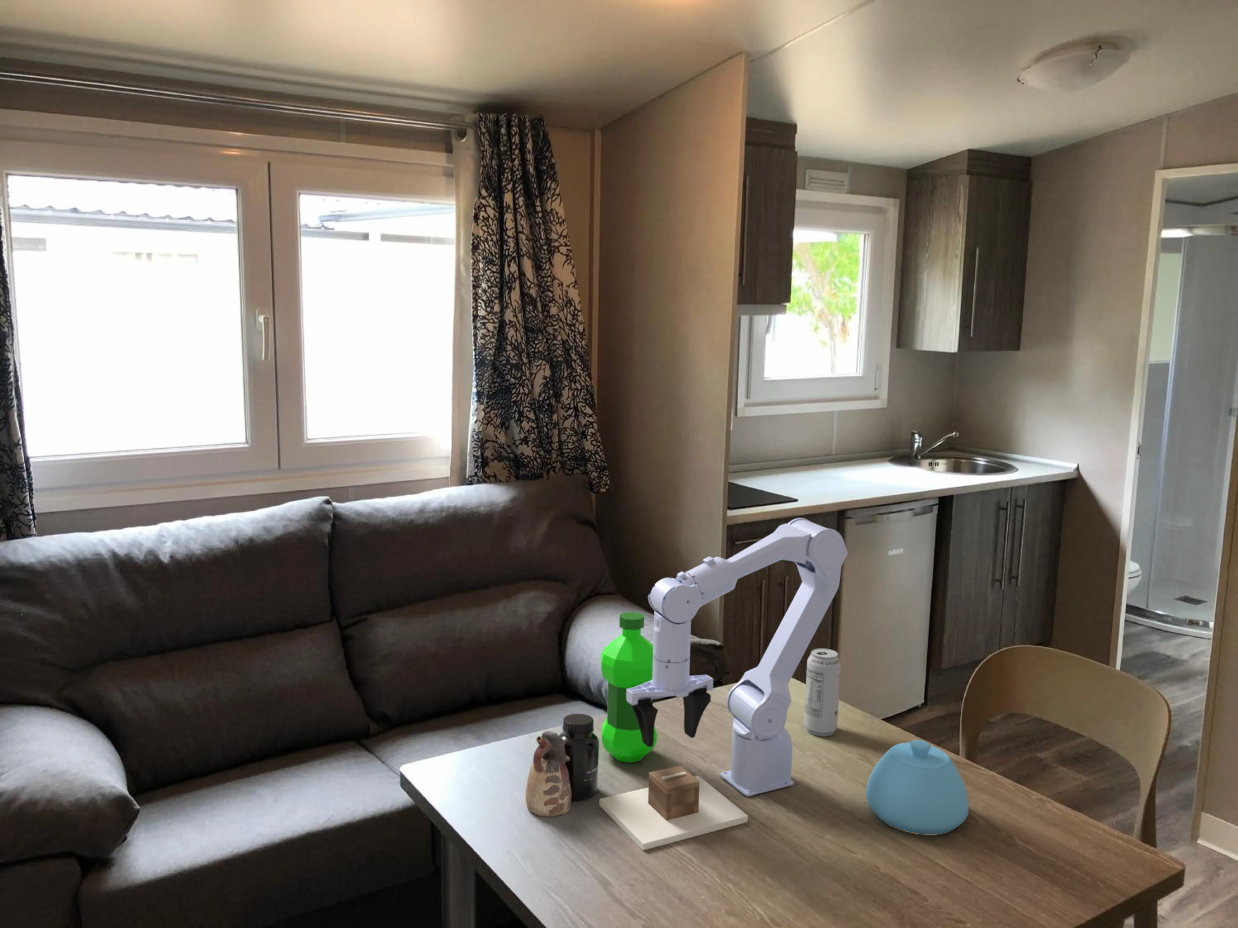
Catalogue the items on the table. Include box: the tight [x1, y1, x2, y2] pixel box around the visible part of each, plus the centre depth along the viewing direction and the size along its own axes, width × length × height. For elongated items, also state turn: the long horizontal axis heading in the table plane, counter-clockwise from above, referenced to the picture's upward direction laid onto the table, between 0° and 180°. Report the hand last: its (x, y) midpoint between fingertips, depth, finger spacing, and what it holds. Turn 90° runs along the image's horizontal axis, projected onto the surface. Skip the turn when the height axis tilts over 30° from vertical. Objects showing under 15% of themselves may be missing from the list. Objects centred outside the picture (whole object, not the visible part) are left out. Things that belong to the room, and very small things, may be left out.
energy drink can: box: [803, 648, 842, 737], centre depth 172 cm, size 6×6×15 cm
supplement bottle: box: [558, 713, 600, 801], centre depth 148 cm, size 7×7×12 cm
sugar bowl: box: [865, 739, 970, 834], centre depth 143 cm, size 15×15×12 cm
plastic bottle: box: [600, 611, 658, 763], centre depth 160 cm, size 10×10×25 cm
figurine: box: [525, 730, 572, 818], centre depth 143 cm, size 7×7×12 cm
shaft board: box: [598, 775, 749, 851], centre depth 142 cm, size 18×14×4 cm
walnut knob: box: [647, 765, 700, 821], centre depth 142 cm, size 6×6×5 cm
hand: (668, 739), depth 147 cm, fingers open, 7 cm apart
